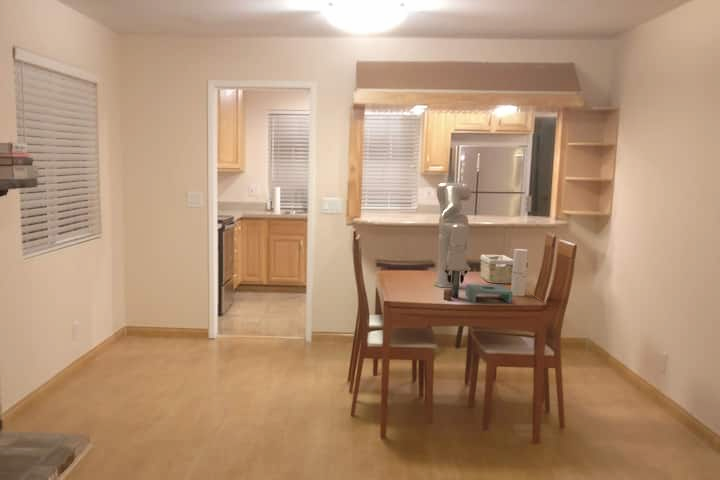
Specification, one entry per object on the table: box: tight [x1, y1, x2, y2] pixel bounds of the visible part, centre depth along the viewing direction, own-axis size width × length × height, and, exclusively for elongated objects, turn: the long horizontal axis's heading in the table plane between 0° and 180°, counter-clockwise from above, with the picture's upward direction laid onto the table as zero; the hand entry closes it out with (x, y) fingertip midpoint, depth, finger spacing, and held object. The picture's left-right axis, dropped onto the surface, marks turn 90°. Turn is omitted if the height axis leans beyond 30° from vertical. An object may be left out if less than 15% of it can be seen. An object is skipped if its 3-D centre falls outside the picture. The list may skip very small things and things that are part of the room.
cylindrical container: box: [510, 248, 529, 297], centre depth 306 cm, size 7×7×25 cm
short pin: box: [443, 288, 452, 301], centre depth 289 cm, size 4×4×5 cm
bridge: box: [465, 283, 513, 304], centre depth 293 cm, size 16×20×6 cm
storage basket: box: [479, 253, 513, 284], centre depth 348 cm, size 24×16×15 cm
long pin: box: [450, 270, 461, 299], centre depth 295 cm, size 4×4×14 cm
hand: (455, 282), depth 295 cm, fingers open, 5 cm apart
